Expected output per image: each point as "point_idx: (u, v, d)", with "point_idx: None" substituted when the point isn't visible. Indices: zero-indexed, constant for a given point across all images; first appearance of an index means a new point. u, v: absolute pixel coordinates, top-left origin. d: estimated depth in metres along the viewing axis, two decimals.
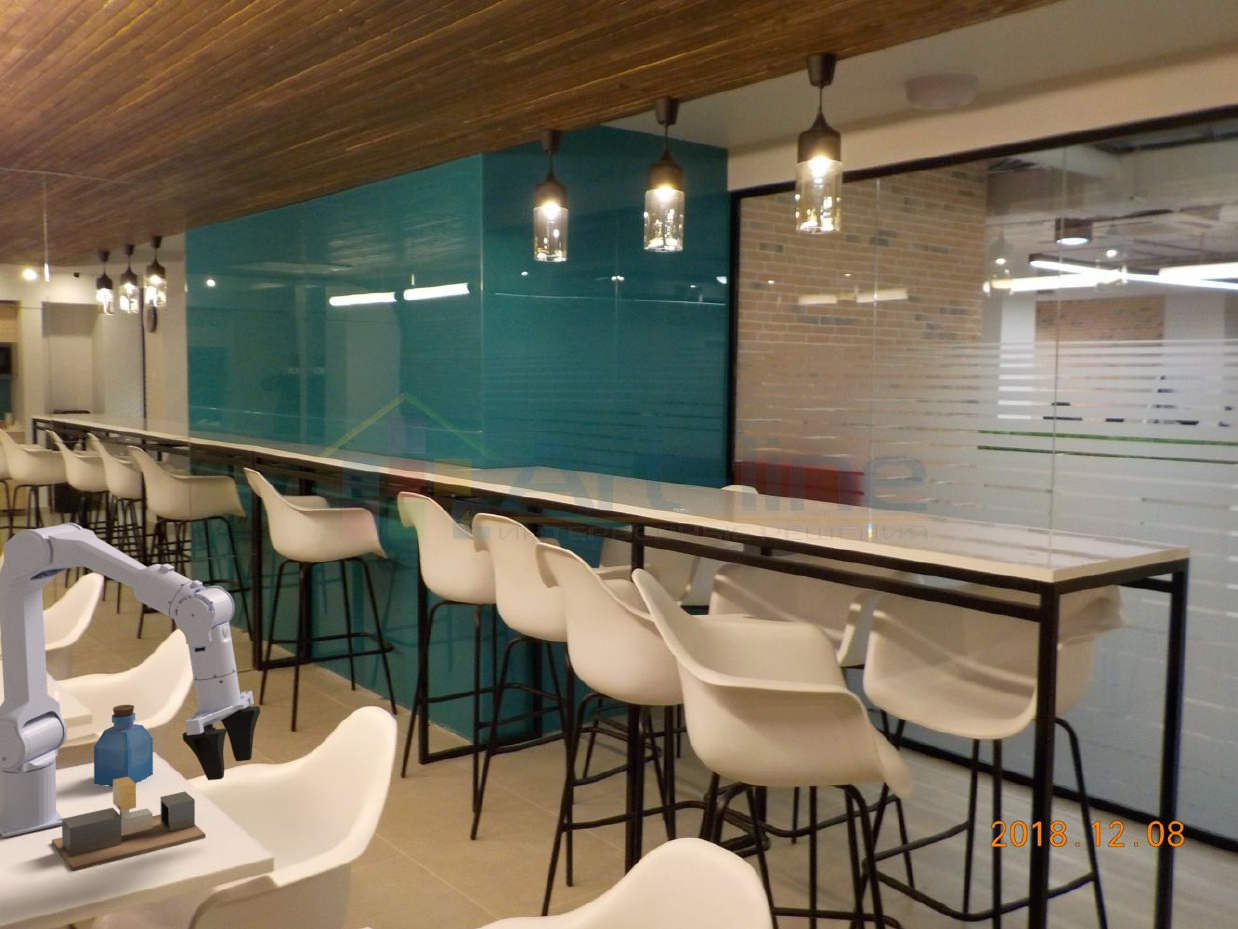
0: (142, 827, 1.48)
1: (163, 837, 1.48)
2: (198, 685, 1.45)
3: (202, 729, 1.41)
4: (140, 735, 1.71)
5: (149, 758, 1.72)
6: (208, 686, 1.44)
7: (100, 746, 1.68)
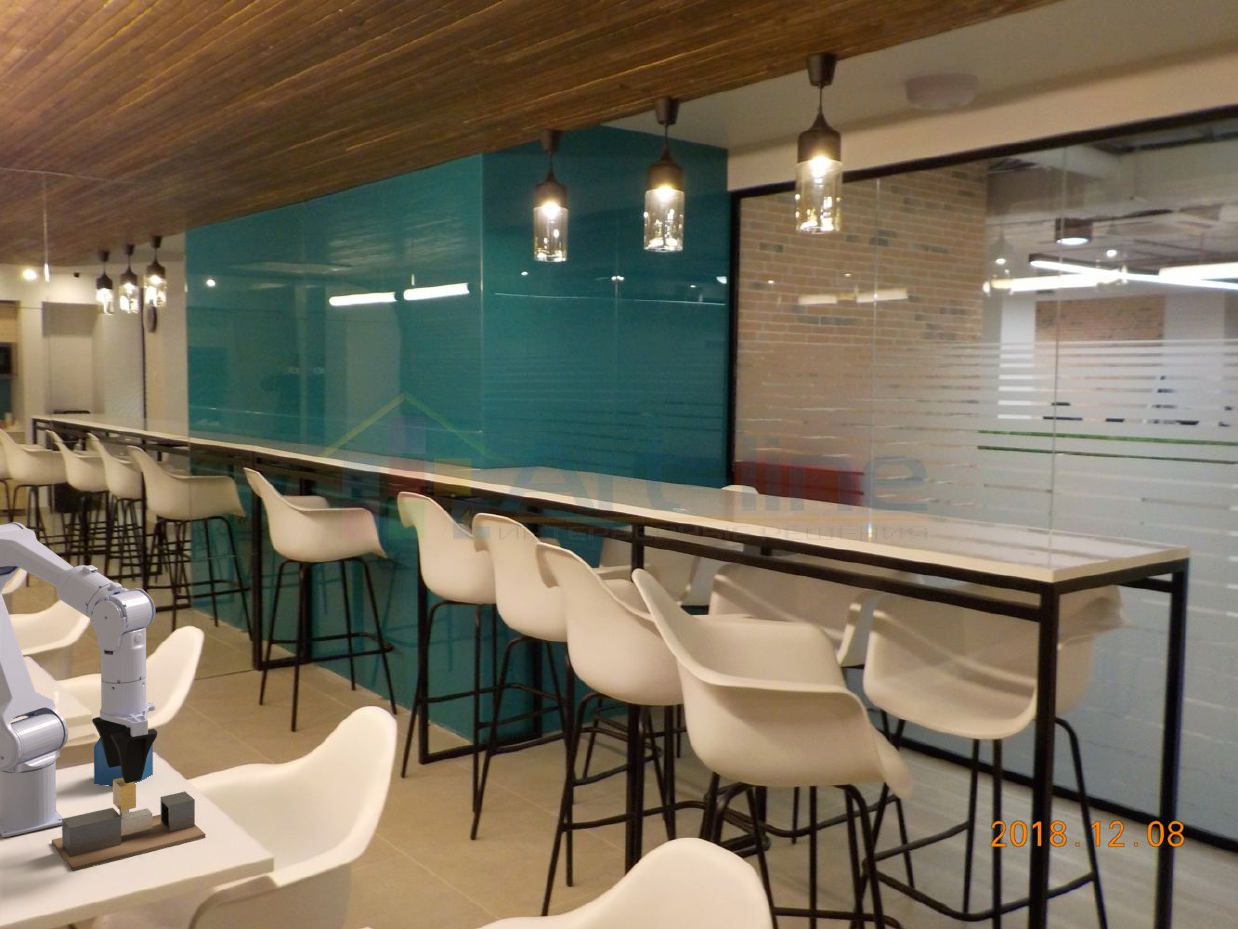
0: (142, 827, 1.48)
1: (163, 837, 1.48)
2: (120, 688, 1.44)
3: None
4: None
5: (149, 758, 1.72)
6: (133, 688, 1.44)
7: (100, 746, 1.68)
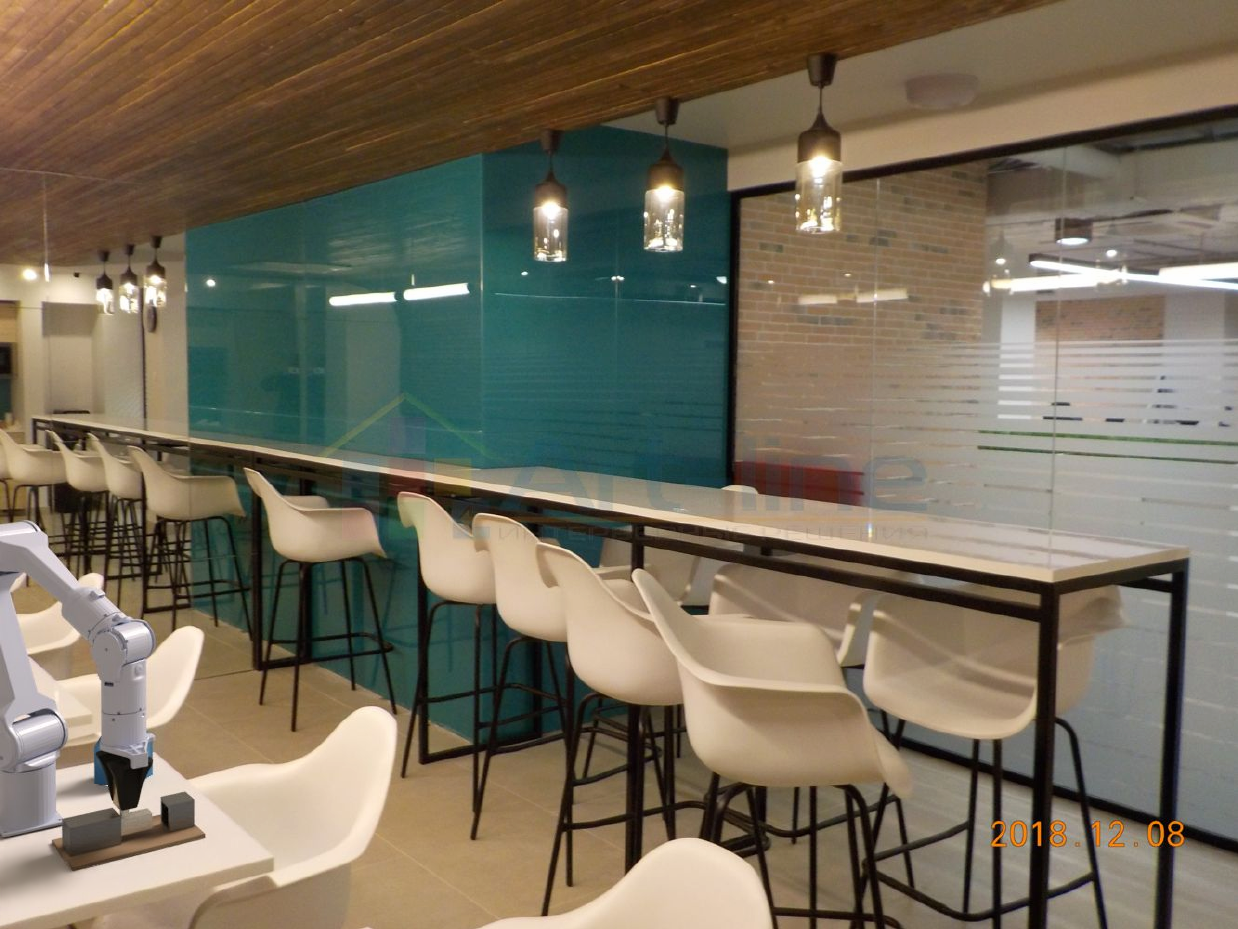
0: (142, 827, 1.48)
1: (163, 837, 1.48)
2: (120, 720, 1.44)
3: None
4: None
5: None
6: (133, 720, 1.45)
7: None
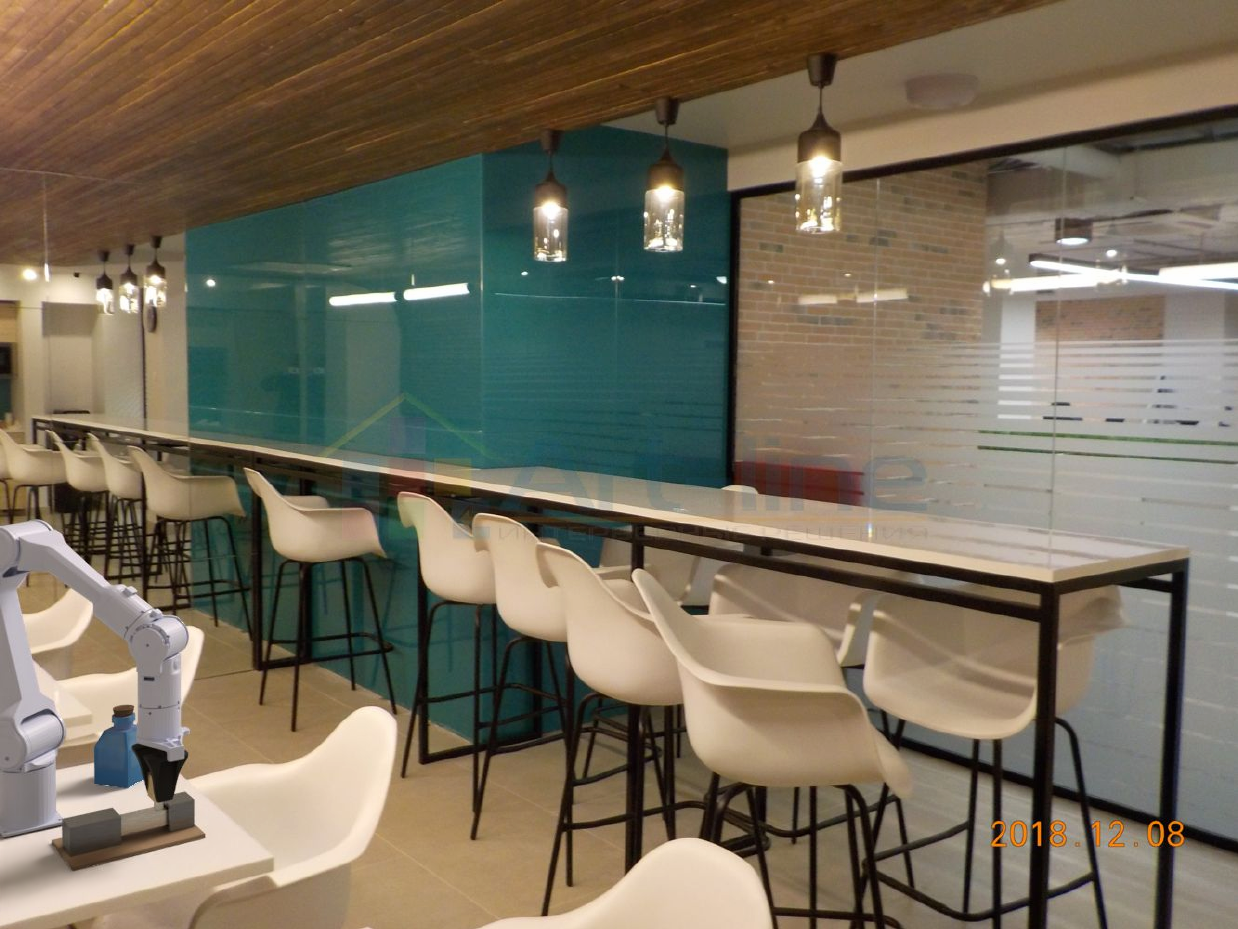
0: None
1: (163, 837, 1.48)
2: (157, 714, 1.47)
3: None
4: None
5: None
6: (169, 714, 1.48)
7: (100, 746, 1.68)
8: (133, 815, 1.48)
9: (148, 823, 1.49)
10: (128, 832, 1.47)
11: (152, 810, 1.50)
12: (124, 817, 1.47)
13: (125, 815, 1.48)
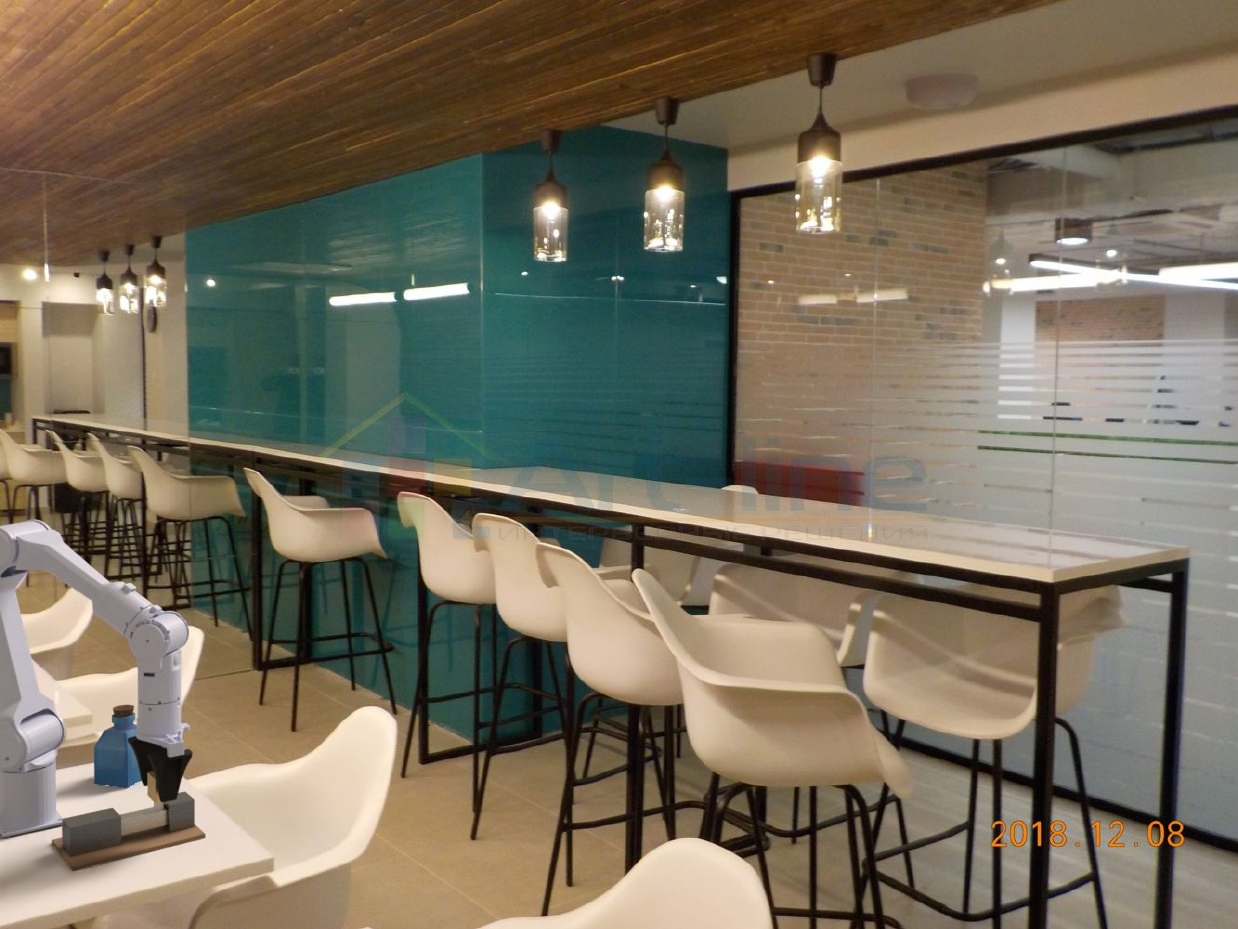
0: None
1: (163, 837, 1.48)
2: (157, 709, 1.47)
3: None
4: None
5: None
6: (169, 710, 1.48)
7: (100, 746, 1.68)
8: (133, 815, 1.48)
9: (148, 823, 1.49)
10: (128, 832, 1.47)
11: (152, 810, 1.50)
12: (124, 817, 1.47)
13: (125, 815, 1.48)
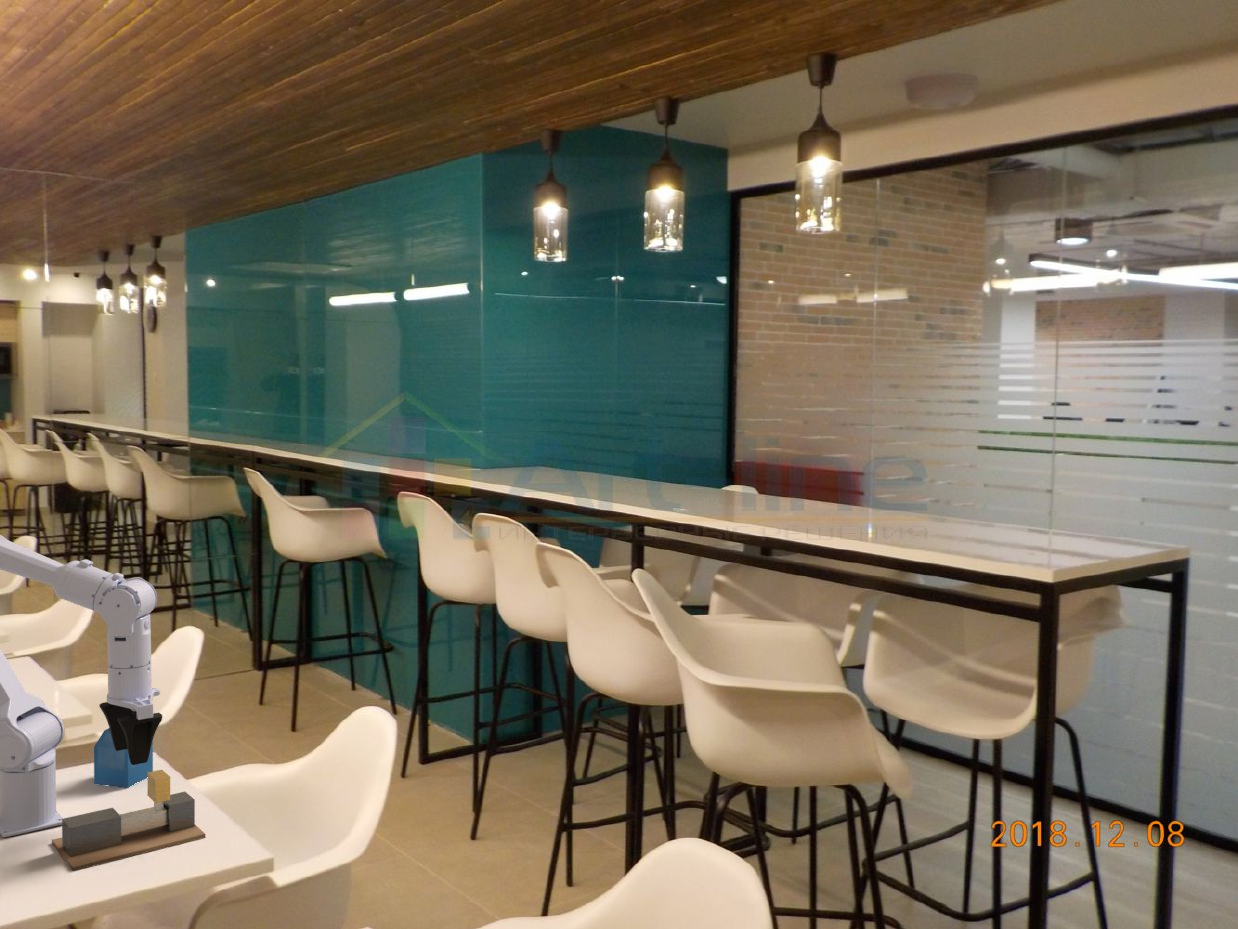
0: None
1: (163, 837, 1.48)
2: (126, 673, 1.49)
3: None
4: None
5: (149, 758, 1.72)
6: (139, 674, 1.50)
7: (100, 746, 1.68)
8: (133, 815, 1.48)
9: (148, 823, 1.49)
10: (128, 832, 1.47)
11: (152, 810, 1.50)
12: (124, 817, 1.47)
13: (125, 815, 1.48)
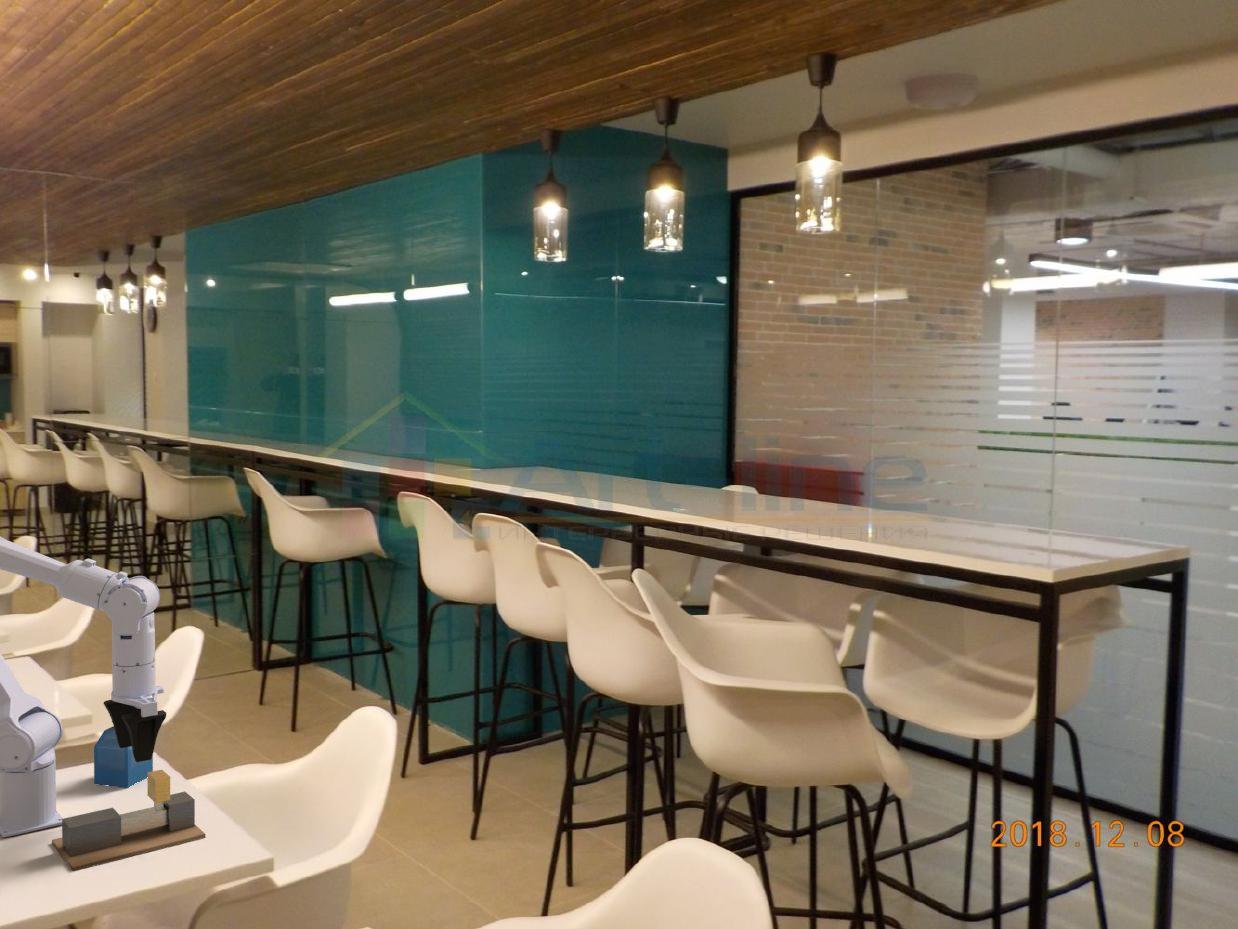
0: None
1: (163, 837, 1.48)
2: (131, 671, 1.50)
3: None
4: None
5: None
6: (143, 671, 1.51)
7: (100, 746, 1.68)
8: (133, 815, 1.48)
9: (148, 823, 1.49)
10: (128, 832, 1.47)
11: (152, 810, 1.50)
12: (124, 817, 1.47)
13: (125, 815, 1.48)
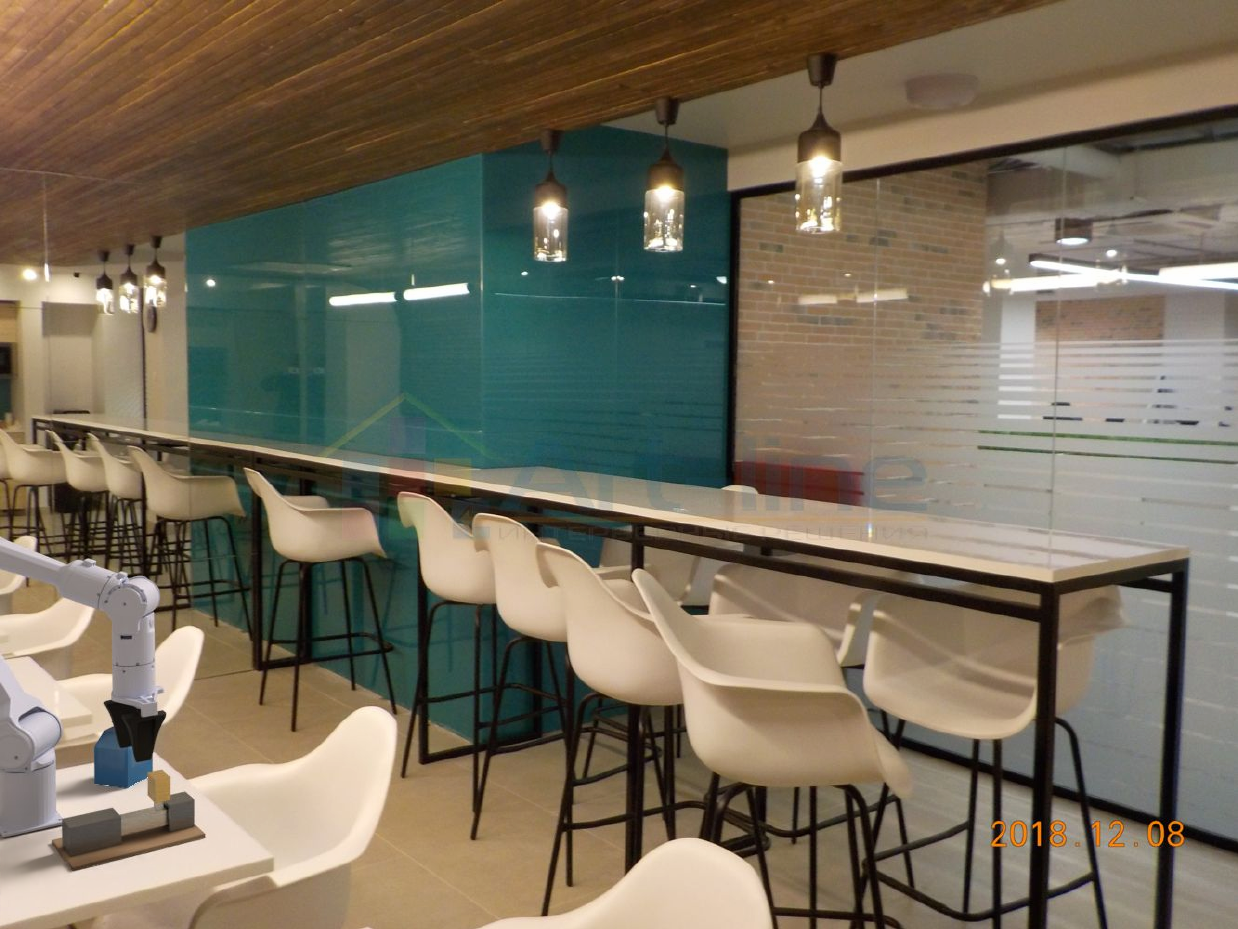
0: None
1: (163, 837, 1.48)
2: (131, 671, 1.50)
3: None
4: None
5: None
6: (143, 671, 1.51)
7: (100, 746, 1.68)
8: (133, 815, 1.48)
9: (148, 823, 1.49)
10: (128, 832, 1.47)
11: (152, 810, 1.50)
12: (124, 817, 1.47)
13: (125, 815, 1.48)
